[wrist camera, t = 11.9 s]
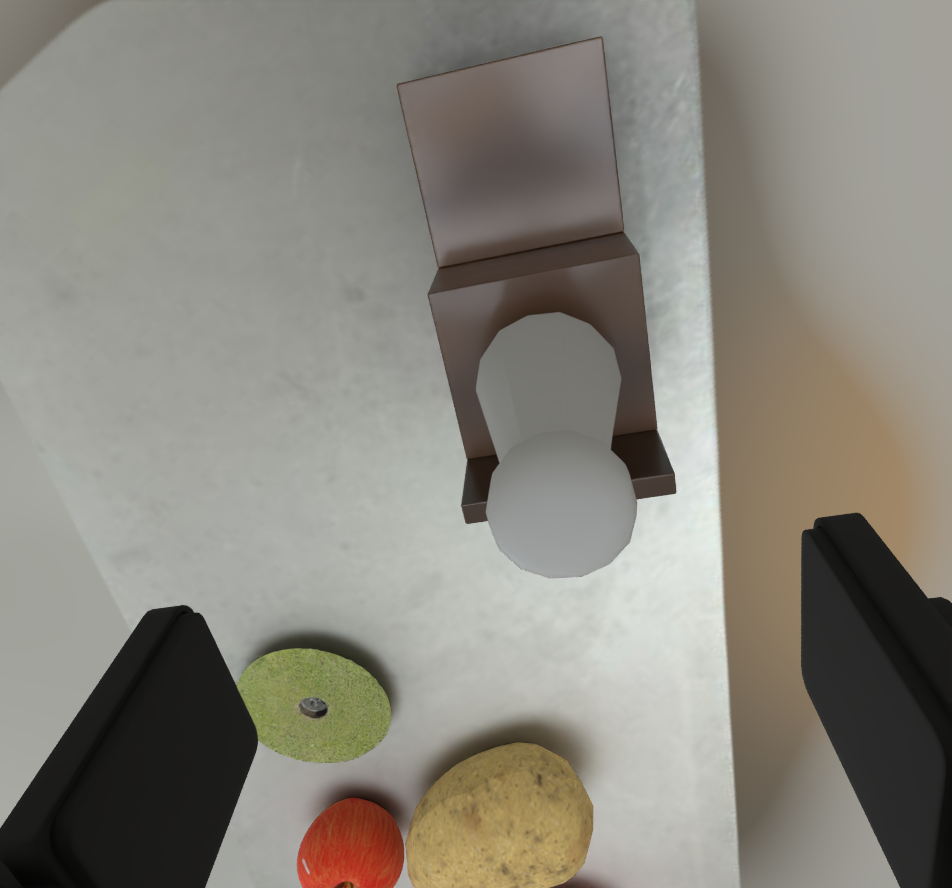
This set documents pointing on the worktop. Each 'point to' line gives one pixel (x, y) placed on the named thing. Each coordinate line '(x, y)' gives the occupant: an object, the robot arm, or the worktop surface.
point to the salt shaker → (555, 447)
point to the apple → (351, 848)
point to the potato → (501, 822)
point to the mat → (314, 705)
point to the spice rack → (530, 235)
